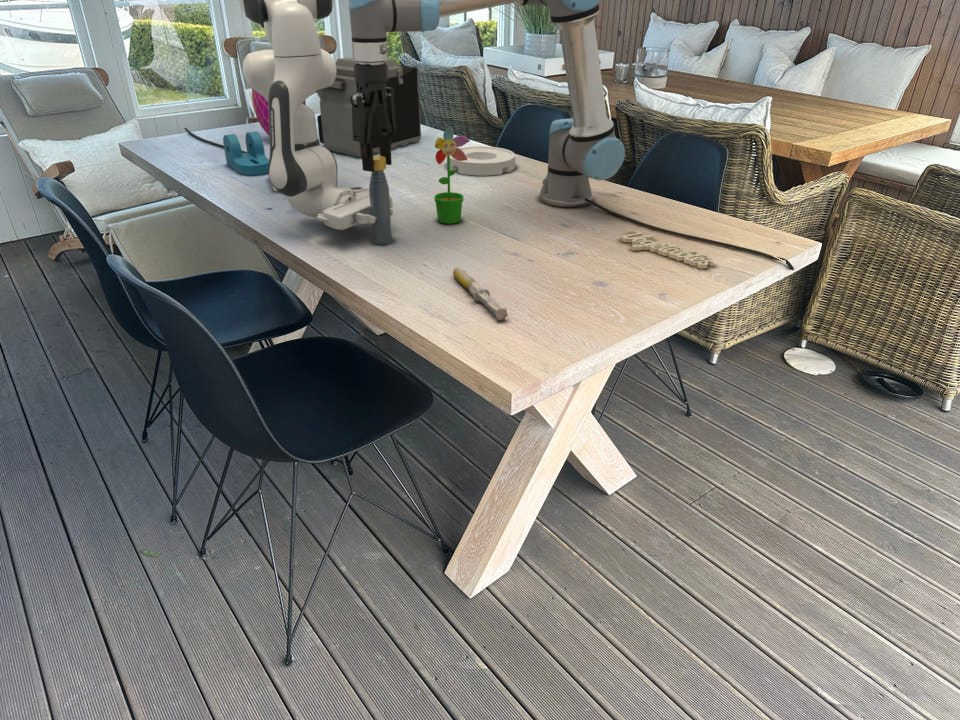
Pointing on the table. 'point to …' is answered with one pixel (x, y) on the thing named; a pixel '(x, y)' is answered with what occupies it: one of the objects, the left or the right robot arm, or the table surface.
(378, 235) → the bottle
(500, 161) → the ashtray
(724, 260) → the table surface
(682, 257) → the decorative sign
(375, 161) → the cap
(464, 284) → the syringe
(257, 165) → the camera mount
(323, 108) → the cooler box
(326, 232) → the table surface
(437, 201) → the potted flower
